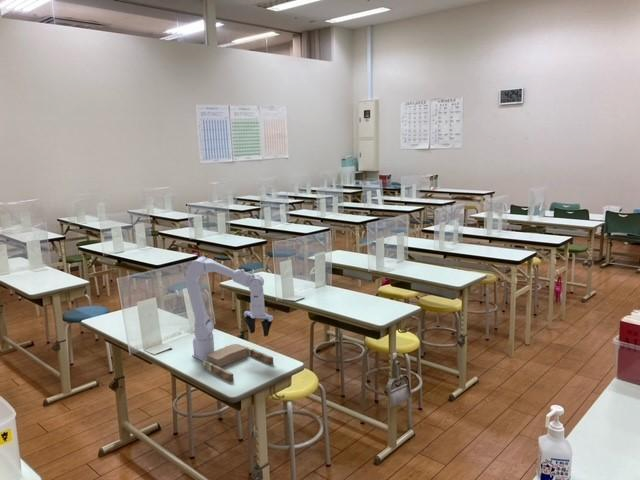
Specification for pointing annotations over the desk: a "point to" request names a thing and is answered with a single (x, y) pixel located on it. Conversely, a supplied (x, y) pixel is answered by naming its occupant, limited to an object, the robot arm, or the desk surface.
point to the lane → (229, 375)
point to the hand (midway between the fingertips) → (259, 334)
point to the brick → (227, 355)
